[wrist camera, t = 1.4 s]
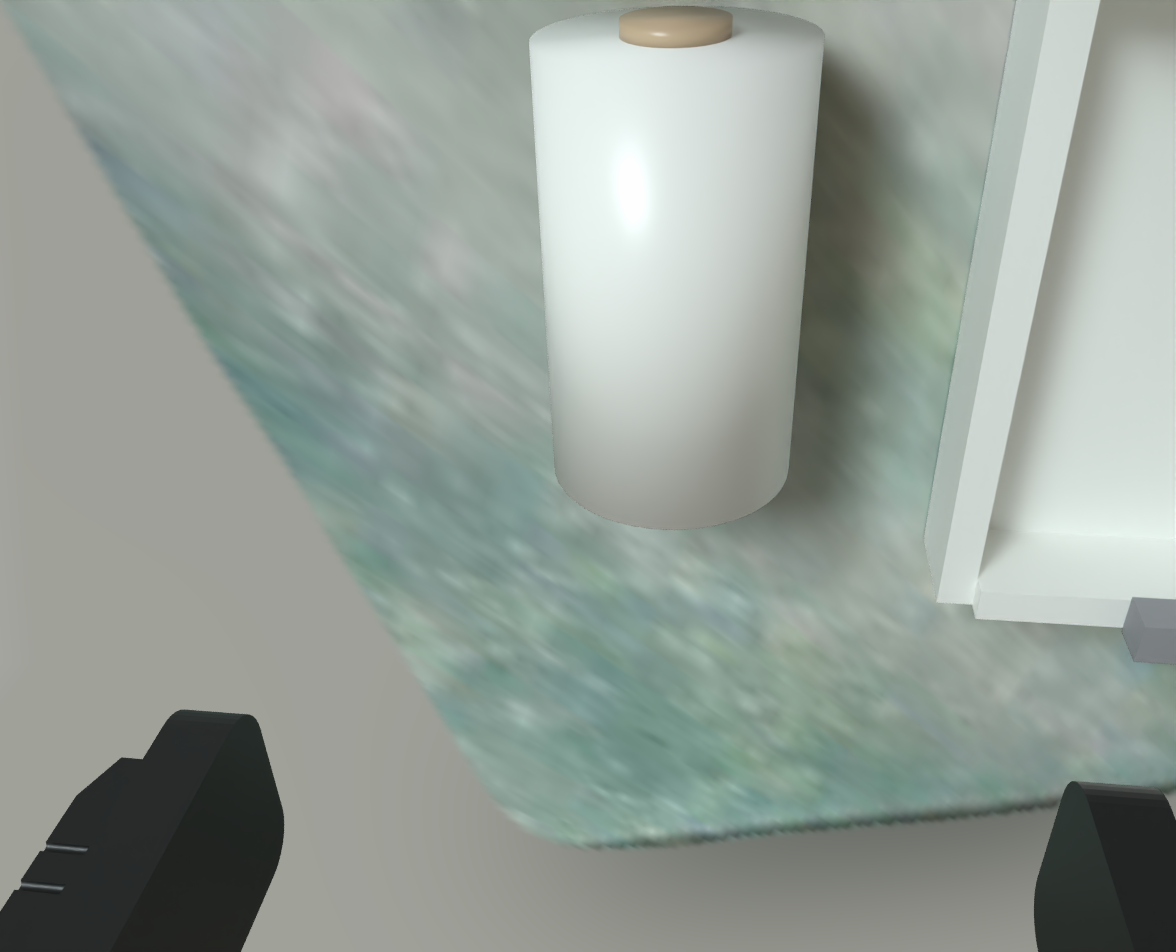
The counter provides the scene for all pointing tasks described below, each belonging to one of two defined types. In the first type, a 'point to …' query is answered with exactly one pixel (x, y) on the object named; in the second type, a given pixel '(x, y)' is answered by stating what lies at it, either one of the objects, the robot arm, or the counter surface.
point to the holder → (1070, 338)
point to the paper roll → (674, 253)
